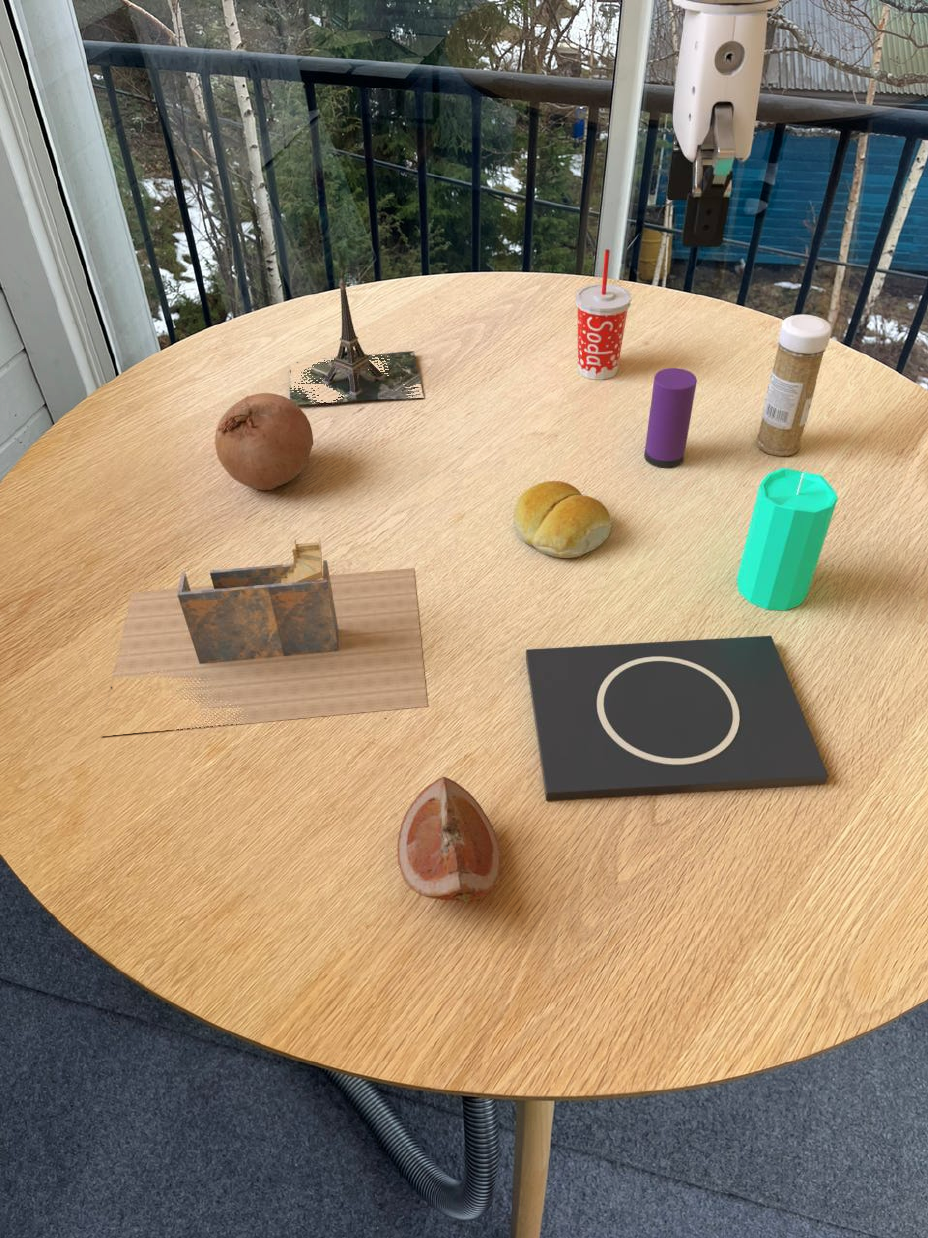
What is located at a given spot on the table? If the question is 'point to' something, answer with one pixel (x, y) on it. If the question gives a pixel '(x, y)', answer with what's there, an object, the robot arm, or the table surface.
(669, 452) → the dot marker
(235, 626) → the ruin model on sheet
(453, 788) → the fruit slice
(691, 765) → the sketch board
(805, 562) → the candle
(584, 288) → the beverage cup
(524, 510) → the bread roll
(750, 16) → the robot arm
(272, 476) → the onion
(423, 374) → the table surface
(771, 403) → the sprinkles bottle
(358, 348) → the eiffel tower figurine
